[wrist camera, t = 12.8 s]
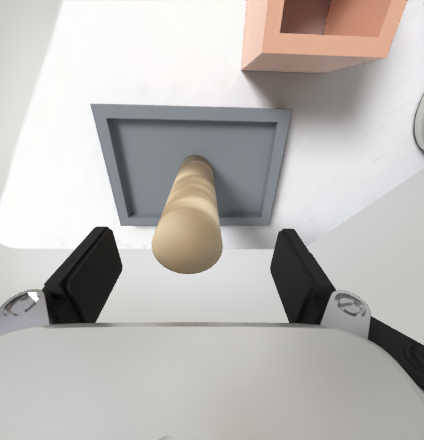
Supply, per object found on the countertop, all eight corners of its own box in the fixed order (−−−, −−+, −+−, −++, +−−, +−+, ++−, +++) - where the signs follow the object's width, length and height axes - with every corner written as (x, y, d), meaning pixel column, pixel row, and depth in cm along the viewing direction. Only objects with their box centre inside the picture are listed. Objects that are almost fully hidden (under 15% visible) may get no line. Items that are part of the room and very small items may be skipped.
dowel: (212, 155, 23) (224, 218, 10) (212, 187, 25) (220, 273, 12) (178, 154, 23) (146, 217, 10) (180, 186, 25) (156, 274, 12)
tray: (285, 108, 22) (291, 109, 20) (265, 218, 29) (268, 225, 27) (98, 103, 21) (90, 103, 19) (125, 218, 28) (120, 225, 26)
